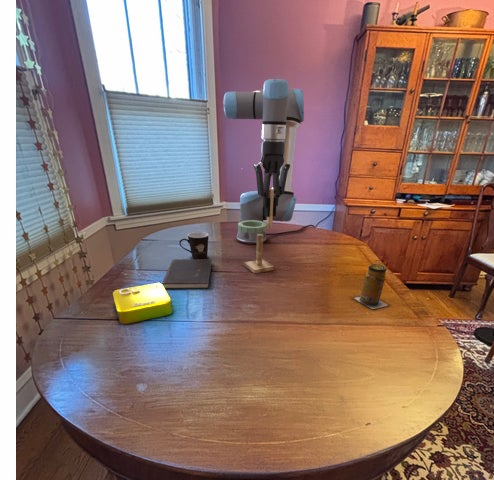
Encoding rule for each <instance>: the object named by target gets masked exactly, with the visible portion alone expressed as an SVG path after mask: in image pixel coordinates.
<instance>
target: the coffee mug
mask: <svg viewBox="0 0 494 480" xmlns="http://www.w3.org/2000/svg"><path fill="white" fill-rule="evenodd" d="M209 235H210V234H209V233H208V232H204V231H193V232H189V233H188V234H187V238H181V239H180V240H179V244H178V245H179V246H180V247H181V248H182V249H183V250H184V251H187V252H189V253H190V254H191V257H192V259H208V255H209V253H208V252H209ZM183 241H186V242H187V243H188V244H189V248H190V250H189V249H188V248H185V247H184V246H183V245H182V242H183Z"/></svg>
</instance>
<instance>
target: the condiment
mask: <svg viewBox="0 0 494 480" xmlns="http://www.w3.org/2000/svg"><path fill="white" fill-rule="evenodd" d="M386 272H387V267H386V266H385V265H382V264H376V263H375V264H370V265H369V266H368V269H367V272H366V273H365V276H364V278H363V279H364V280H363V282H362V288H361V293H360V296H356V297H353V299H354V300H356V301H357V302H359V303H361V304H362V305H364V306H366V307H367V308H370V309H371V310H375V309H380V308H383V307H388V306H389V304H388V303H385V302H384V301H382V300H381V297H382V292H383V288H384V285H385V281H386V274H387V273H386Z"/></svg>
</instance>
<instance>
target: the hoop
mask: <svg viewBox="0 0 494 480" xmlns="http://www.w3.org/2000/svg"><path fill="white" fill-rule="evenodd" d="M268 197H269V198H270V217H267V220H266V221H263V222H262V221H256V220H250V221H249V220H247V221H241V222H240V221H239V222H238V223H237V230H239V231H242V232H246V233H261V232H264V231H265V232H266V231H267V230H268V228H273V221H272V220H273V200H274V189H272V188H270V189H269V196H268ZM249 226H256V227H249Z"/></svg>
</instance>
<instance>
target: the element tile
mask: <svg viewBox="0 0 494 480" xmlns="http://www.w3.org/2000/svg"><path fill="white" fill-rule="evenodd" d="M112 296H113V301H114V304H115V309H116V313H117V317H118V320H119V323H121V324H123V325H128V324H129V325H130V324H133V323H139V322H143V321H147V320H152V319H157V318H162V317H166V316H169V315H171V314H172V313H173V311H174V310H173V302H172V301H173V300H172V298H171V296H170V294H169V293H168V291H167V289H165V288H164V286H163V285H162V282H161V283H160V282H155V283H149V284H143V285H138V286H130V287H126V288H125V287H124V288H120V289H115V290H114V291H113V292H112Z"/></svg>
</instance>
